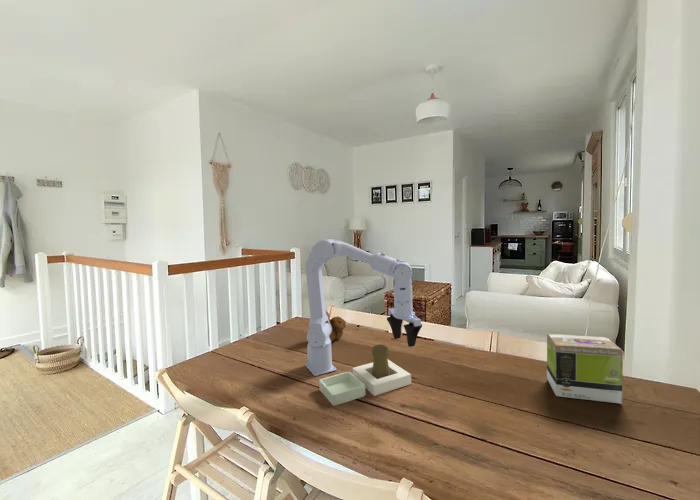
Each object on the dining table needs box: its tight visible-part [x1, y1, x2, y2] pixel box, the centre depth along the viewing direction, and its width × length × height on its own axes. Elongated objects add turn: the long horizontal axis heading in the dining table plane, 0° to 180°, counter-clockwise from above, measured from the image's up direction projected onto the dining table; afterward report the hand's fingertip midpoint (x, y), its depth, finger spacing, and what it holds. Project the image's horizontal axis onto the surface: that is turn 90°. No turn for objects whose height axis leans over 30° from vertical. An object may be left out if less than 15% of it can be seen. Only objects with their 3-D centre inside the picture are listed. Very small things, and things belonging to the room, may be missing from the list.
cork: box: [371, 344, 390, 379], centre depth 99 cm, size 6×6×11 cm
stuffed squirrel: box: [325, 308, 347, 343], centre depth 135 cm, size 10×14×13 cm
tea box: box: [546, 333, 624, 405], centre depth 89 cm, size 15×10×15 cm
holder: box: [352, 359, 412, 397], centre depth 100 cm, size 13×13×3 cm
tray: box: [318, 371, 366, 407], centre depth 94 cm, size 10×10×3 cm
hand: (404, 342), depth 103 cm, fingers open, 7 cm apart
